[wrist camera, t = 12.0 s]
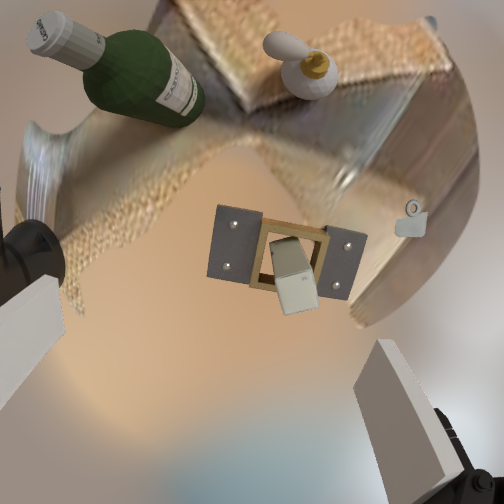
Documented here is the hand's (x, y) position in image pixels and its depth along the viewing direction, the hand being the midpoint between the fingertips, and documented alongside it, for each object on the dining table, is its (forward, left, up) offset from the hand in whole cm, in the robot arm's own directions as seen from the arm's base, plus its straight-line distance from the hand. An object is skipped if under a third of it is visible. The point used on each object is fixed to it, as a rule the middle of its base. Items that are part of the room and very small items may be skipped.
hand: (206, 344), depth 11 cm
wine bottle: (-12, +13, -33) cm, 37 cm away
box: (+7, -6, -33) cm, 34 cm away
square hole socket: (+7, -6, -33) cm, 34 cm away
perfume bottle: (+4, +19, -33) cm, 38 cm away
